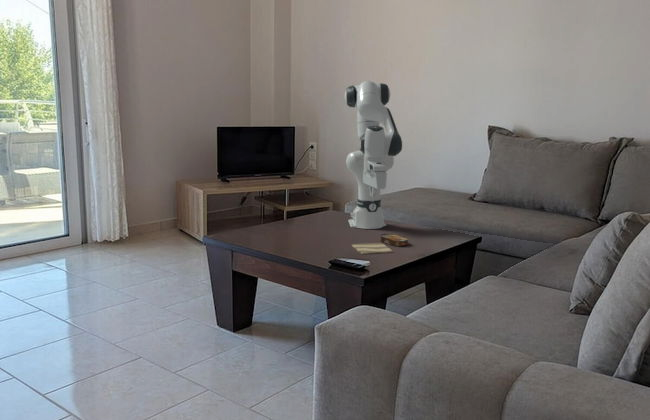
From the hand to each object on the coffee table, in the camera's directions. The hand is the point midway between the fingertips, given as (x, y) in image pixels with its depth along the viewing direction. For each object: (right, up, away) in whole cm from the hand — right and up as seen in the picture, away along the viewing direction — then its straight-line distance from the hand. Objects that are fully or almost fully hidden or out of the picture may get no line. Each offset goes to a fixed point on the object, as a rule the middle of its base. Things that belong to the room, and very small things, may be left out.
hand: (373, 196), depth 254 cm
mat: (0, -23, +4) cm, 23 cm away
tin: (+7, -20, +13) cm, 25 cm away
